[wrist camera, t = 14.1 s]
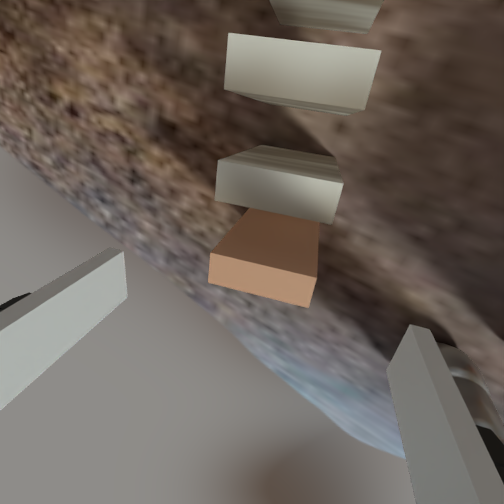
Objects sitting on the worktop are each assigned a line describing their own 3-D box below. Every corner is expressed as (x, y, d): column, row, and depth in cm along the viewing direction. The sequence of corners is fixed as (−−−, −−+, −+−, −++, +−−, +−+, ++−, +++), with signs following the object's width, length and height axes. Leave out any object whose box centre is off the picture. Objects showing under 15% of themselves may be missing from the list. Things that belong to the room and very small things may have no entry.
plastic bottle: (423, 392, 30) (568, 787, 12) (380, 352, 29) (468, 713, 11) (485, 366, 27) (795, 834, 9) (439, 320, 26) (681, 738, 8)
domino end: (253, 202, 26) (210, 252, 16) (319, 216, 25) (317, 277, 15) (250, 223, 26) (208, 282, 17) (314, 237, 26) (308, 307, 16)
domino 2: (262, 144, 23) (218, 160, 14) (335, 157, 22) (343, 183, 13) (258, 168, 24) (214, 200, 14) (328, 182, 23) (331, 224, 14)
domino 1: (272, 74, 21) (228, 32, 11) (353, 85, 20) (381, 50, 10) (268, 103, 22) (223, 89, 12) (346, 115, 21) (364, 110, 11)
